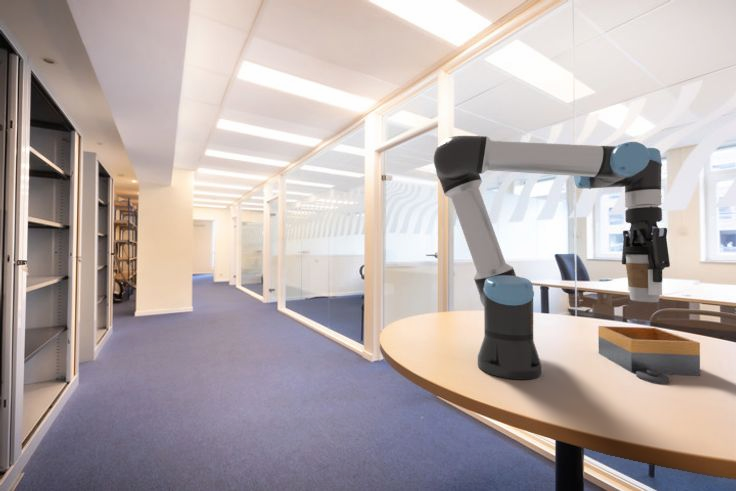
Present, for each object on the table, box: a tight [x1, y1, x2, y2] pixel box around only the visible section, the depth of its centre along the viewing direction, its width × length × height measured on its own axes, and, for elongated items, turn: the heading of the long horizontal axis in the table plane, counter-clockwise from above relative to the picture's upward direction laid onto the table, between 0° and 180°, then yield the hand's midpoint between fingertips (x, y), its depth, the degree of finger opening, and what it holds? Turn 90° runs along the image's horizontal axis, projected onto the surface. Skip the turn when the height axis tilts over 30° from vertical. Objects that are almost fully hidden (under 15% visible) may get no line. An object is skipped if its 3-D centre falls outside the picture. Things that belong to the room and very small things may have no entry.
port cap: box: [635, 369, 671, 385], centre depth 78 cm, size 6×6×2 cm
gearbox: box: [597, 325, 701, 377], centre depth 88 cm, size 15×15×8 cm
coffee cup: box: [624, 245, 660, 303], centre depth 88 cm, size 8×8×15 cm
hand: (644, 292), depth 88 cm, fingers closed on coffee cup, 8 cm apart
